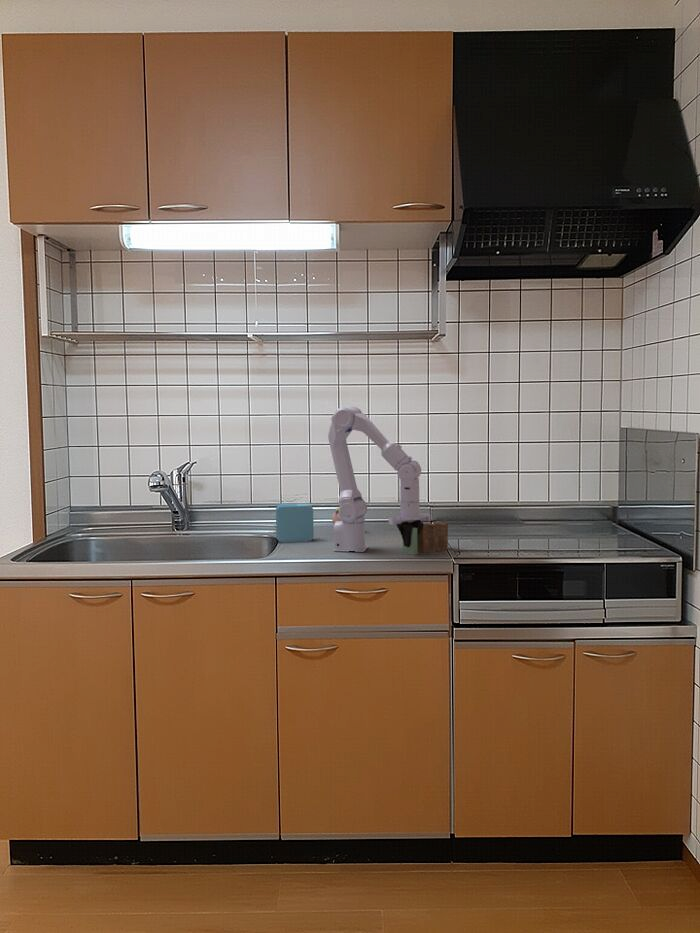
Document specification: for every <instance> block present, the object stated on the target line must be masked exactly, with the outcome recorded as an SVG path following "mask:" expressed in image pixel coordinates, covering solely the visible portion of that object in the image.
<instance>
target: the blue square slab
mask: <svg viewBox="0 0 700 933" xmlns="http://www.w3.org/2000/svg"><path fill="white" fill-rule="evenodd" d="M275 528H276V529H275V532H276V539H277V541H278V542H279V543H301V542H305V541H307V542H312V541H313V540H314V536H315V535H314V508H313V507H312V505H311V504H310V503H290V504H289V503H287V504H284V503H282V504H278V505H277V506H276V507H275ZM305 543H306V542H305Z"/></svg>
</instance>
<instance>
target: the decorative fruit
mask: <svg viewBox="0 0 700 933" xmlns="http://www.w3.org/2000/svg"><path fill="white" fill-rule="evenodd" d="M331 521H332V523H333V525H335V522H336V521H342V520H341V518H340V516H339V507H338V508H336V509H335V510H334V512H333V513H332V516H331Z"/></svg>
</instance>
